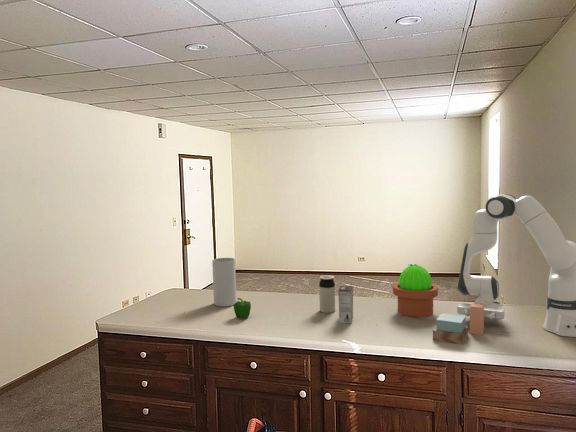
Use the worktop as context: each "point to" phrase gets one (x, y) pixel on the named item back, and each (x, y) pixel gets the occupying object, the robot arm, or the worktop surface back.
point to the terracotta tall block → (477, 319)
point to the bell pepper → (242, 309)
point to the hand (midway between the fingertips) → (478, 315)
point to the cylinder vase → (224, 281)
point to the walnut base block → (450, 336)
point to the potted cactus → (415, 292)
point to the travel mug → (327, 294)
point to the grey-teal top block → (451, 323)
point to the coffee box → (345, 304)
